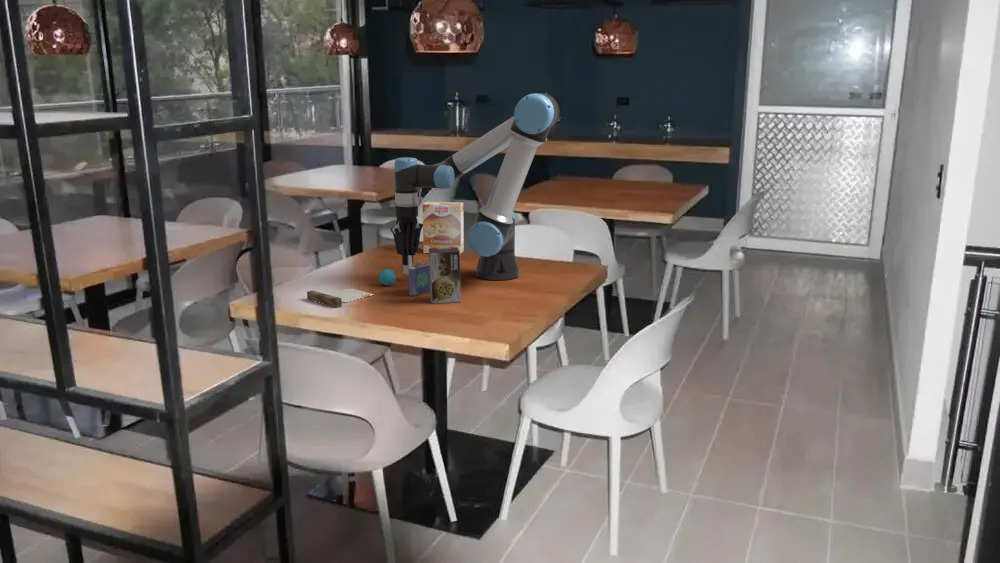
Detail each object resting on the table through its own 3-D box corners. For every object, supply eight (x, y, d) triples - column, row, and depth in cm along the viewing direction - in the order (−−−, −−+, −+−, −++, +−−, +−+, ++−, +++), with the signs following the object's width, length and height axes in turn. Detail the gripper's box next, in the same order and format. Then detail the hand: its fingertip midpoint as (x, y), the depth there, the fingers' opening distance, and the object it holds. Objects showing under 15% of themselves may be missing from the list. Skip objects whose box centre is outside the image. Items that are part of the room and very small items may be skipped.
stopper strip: (341, 306, 244) (341, 298, 243) (336, 307, 242) (336, 299, 242) (312, 298, 253) (312, 290, 252) (307, 299, 251) (306, 291, 250)
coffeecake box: (423, 253, 315) (422, 203, 310) (426, 249, 322) (425, 201, 317) (461, 254, 314) (460, 204, 309) (464, 251, 320) (463, 201, 316)
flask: (412, 296, 255) (411, 263, 252) (406, 295, 257) (405, 262, 254) (433, 291, 262) (432, 258, 259) (426, 289, 263) (426, 257, 261)
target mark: (374, 295, 256) (374, 294, 256) (345, 303, 247) (345, 302, 247) (349, 288, 264) (349, 288, 264) (320, 296, 255) (320, 295, 255)
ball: (399, 285, 269) (399, 268, 267) (387, 288, 265) (386, 271, 263) (388, 282, 272) (387, 266, 271) (375, 285, 268) (375, 269, 267)
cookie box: (458, 297, 255) (458, 246, 251) (461, 302, 249) (460, 251, 245) (429, 298, 253) (428, 247, 249) (431, 303, 247) (430, 252, 243)
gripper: (412, 201, 276) (414, 268, 282) (384, 206, 266) (386, 275, 272) (428, 203, 272) (429, 272, 277) (400, 208, 262) (401, 279, 268)
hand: (408, 273), depth 275 cm, fingers closed
